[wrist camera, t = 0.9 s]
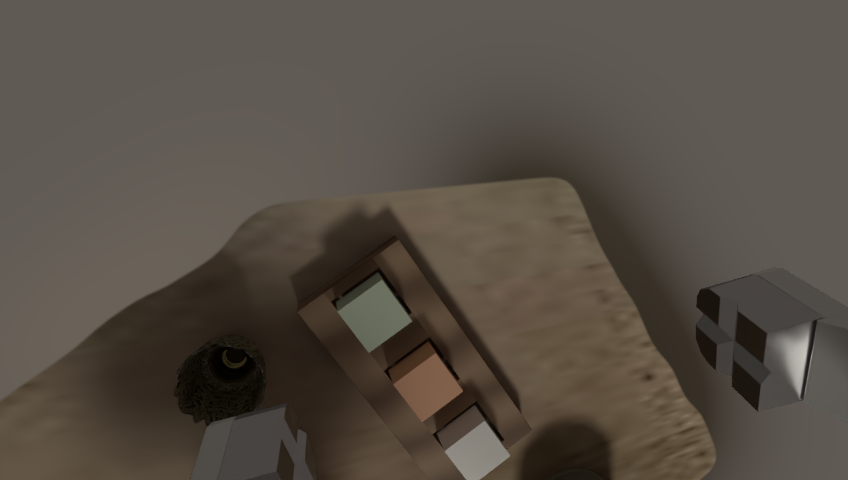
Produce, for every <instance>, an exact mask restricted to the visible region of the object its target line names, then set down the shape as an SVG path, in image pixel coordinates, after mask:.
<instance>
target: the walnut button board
mask: <svg viewBox="0 0 848 480" xmlns="http://www.w3.org/2000/svg"><path fill="white" fill-rule="evenodd" d="M377 272H378V273H379V274H380V276H381V277H382V278H383V280H384V281H385V282H386V284H387V285H388V287H389V288H390V289H391V291H392V292H393V293H394V295H395V296H396V298H397V299H398V300H399V302H400V303H401V304H402V306H403V307H404V309H405V310H406V311H407V313H408V315H409V316H410V318H411V320H412V322H411V323H409V324H408V325H406V326H405V327H404V328H402V329H401V330H400V331H398V332H397V333H396V334H394V335H393V336H391V337H390V338H389V339H387V340H386V341H385V342H383V343H382V344H381V345H379V346H378V347H376V348H375V349H374V350H372V351H371V352H370V353H369V352H368V351H367V350H366V349H365V347H364V346H363V345H362V343H361V342H360V341H359V339H358V338H357V337H356V336H355V334H354V333H353V332H352V330H351V329H350V328H349V326H348V325H347V324H346V322H345V321H344V320H343V319H342V317H341V316H340V315H339V313H338V312H337V304H336V302H337V301H338V300H340V299H341V298H343V297H344V296H345V295H347V294H348V293H349V292H351V291H352V290H354V289H355V288H356V287H358V286H359V285H361V284H362V283H363V282H365V281H366V280H368V279H369V278H370V277H372V276H373V275H375V274H376V273H377ZM297 313H298V314H299V315H300V316H301V318H302V319H303V320H304V321H305V323H306V324H307V325H308V326H309V328H310V329H311V330H312V332H313V333H314V334H315V335H316V337H317V338H318V339H319V340H320V342H321V343H322V344H323V345H324V347H325V348H326V349H327V350H328V352H329V353H330V354H331V356H332V357H333V358H334V359H335V361H336V362H337V363H338V364H339V366H340V367H341V368H342V369H343V371H344V372H345V373H346V374H347V376H348V377H349V378H350V380H351V381H352V382H353V383H354V385H355V386H356V387H357V388H358V390H359V391H360V392H361V393H362V395H363V396H364V397H365V398H366V400H367V401H368V402H369V404H370V405H371V406H372V407H373V409H374V410H375V411H376V412H377V414H378V415H379V416H380V417H381V419H382V420H383V421H384V422H385V424H386V425H387V426H388V428H389V429H390V430H391V431H392V433H393V434H394V435H395V436H396V438H397V439H398V440H399V441H400V443H401V444H402V445H403V446H404V448H405V449H406V450H407V452H408V453H409V454H410V455H411V457H412V458H413V459H414V460H415V462H416V463H417V464H418V465H419V467H420V468H421V469H422V470H423V472H424V473H425V474H426V476H427V477H428V478H429V479H430V480H466V479H465V477H464V476H463V475H462V474H461V472H460V471H459V470H458V468H457V467H456V466H455V464H454V463H453V462H452V460H451V459H450V458H449V457H448V455H447V454H446V453H445V451H444V449H443V447H442V444H441V442H440V440H439V437H438V435H437V433H438V432H439V431H440V430H442V429H443V428H444V427H446V426H447V425H448V424H450V423H451V422H452V421H454V420H455V419H456V418H458V417H459V416H460V415H462V414H463V413H464V412H466V411H467V410H468V409H470V408H471V407H472V406H474V405H475V406H476V407H477V409H478V410H479V412H480V413H481V414H482V416H483V417H484V418H485V420H486V421H487V423H488V424H489V425H490V427H491V428H492V429H493V431H494V432H495V434H496V435H497V436H498V438H499V439H500V441H501V442H502V444H503V445H504V447H505V448H506V450H507V449H508V448H509V447H511V446H512V445H513V444H514V443H516V442H517V441H518V440H520V439H521V438H522V437H524V436H525V435H526V434H527V433H529V432H530V431H531V430H532V429H531V427H530V426H529V424H528V423H527V422H526V420H525V419H524V417H523V416H522V414H521V413H520V412H519V410H518V409H517V407H516V406H515V405H514V403H513V402H512V400H511V399H510V397H509V396H508V395H507V393H506V392H505V390H504V389H503V387H502V386H501V385H500V383H499V382H498V380H497V379H496V377H495V376H494V375H493V373H492V372H491V370H490V369H489V368H488V366H487V365H486V363H485V362H484V360H483V359H482V358H481V356H480V355H479V353H478V352H477V350H476V349H475V348H474V346H473V345H472V343H471V342H470V341H469V339H468V338H467V336H466V335H465V333H464V332H463V331H462V329H461V328H460V326H459V325H458V323H457V322H456V321H455V319H454V318H453V316H452V315H451V313H450V312H449V311H448V309H447V308H446V306H445V305H444V304H443V302H442V301H441V299H440V298H439V296H438V295H437V294H436V292H435V291H434V289H433V288H432V286H431V285H430V284H429V282H428V281H427V279H426V278H425V277H424V275H423V274H422V272H421V271H420V269H419V268H418V267H417V265H416V264H415V262H414V261H413V259H412V258H411V257H410V255H409V254H408V252H407V251H406V249H405V248H404V247H403V245H402V244H401V242H400V241H399V240H398V239H397V238H396V237H395V236H393V237H392V238H391V239H389V240H388V241H386V242H385V243H384V244H382V245H381V246H379V247H378V248H377V249H375V250H374V251H372V252H371V253H370V254H368V255H367V256H365V257H364V258H363V259H361V260H360V261H358V262H357V263H356V264H354V265H353V266H351V267H350V268H349V269H347V270H346V271H344V272H343V273H342V274H340V275H339V276H337V277H336V278H334V279H333V280H332V281H330V282H329V283H327V284H326V285H325V286H323V287H322V288H320V289H319V290H318V291H316V292H315V293H313V294H312V295H311V296H309V297H308V298H306V299H305V300H304V301H302V302H301V303H299V305H298V310H297ZM427 341H428V342H429V343H430V344H431V346H432V347H433V348H434V350H435V351H436V353H437V354H438V355H439V357H440V358H441V359H442V361H443V362H444V364H445V365H446V366H447V368H448V369H449V370H450V372H451V373H452V375H453V376H454V377H455V379H456V380H457V382H458V384H459V385H460V387H461V388H462V390H463V392H462V393H460V394H459V395H458V396H456V397H455V398H454V399H452V400H451V401H450V402H449V403H447V404H446V405H445V406H443V407H442V408H441V409H439V410H438V411H437V412H435V413H434V414H433V415H431V416H430V417H429V418H427V419H426V420H425V421H423V422H422V421H421V420H420V419H419V418H418V416H417V415H416V414H415V412H414V411H413V410H412V408H411V407H410V406H409V405H408V403H407V402H406V401H405V399H404V398H403V397H402V395H401V394H400V393H399V391H398V390H397V389H396V388H395V386H394V385H393V383H392V379H391V376H390V373H389V369H391V368H392V367H394V366H395V365H396V364H398V363H399V362H400V361H402V360H403V359H404V358H406V357H407V356H408V355H410V354H411V353H413V352H414V351H415V350H417V349H418V348H419V347H421V346H422V345H423V344H425V343H426V342H427Z"/></svg>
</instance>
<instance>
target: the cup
mask: <svg viewBox="0 0 848 480" xmlns="http://www.w3.org/2000/svg"><path fill="white" fill-rule="evenodd" d="M231 348H234V349H238V350H241V351H242V352H243V353H244V358H243V359H242V360H241V361H240V362H237V363H234V362H231V361H230V360H229V359H228V357H227V353H228V351H229V350H230V349H231ZM177 374H178V375H179V376H178V379H177V380H178V384H177V387H176V388H175V389H174V395H175V397H178V405H179V408H180V410H181V412H182V413H185V414H190V415H193V421H194V422H195V423H198V422H200V421H201V420H203V419H205V423H206V425H207V426H209V425H210V424H211V423H212V422H215V421H219V420H223V419H227V418H231V417H235V416H238V415H241V414H245V413H249V412H253V411H256V410H257V408H258V407H259V405H260V403H262V401H263V399H264V390H265V386H266V370H265V362H264V358H263V356H262V353H261V352H260V350H259V348H258V347H257V346H256V345H255V344H254V343H253V342H251V341H250V340H248V339H246V338H244V337H241V336H236V335H226V336H221V337H218V338H215V339H213V340H211V341H209V342H207V343H206V344H204V345H203V346H202V347H200V348H199V349H198V350H197V351H196V352H194V353H193V354H192V355H190V356H189V357H188V358H187V359H186V360H185V362H184V363H183V364H182V365H181V367H180V368H179V369H178V371H177Z"/></svg>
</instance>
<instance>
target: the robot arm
mask: <svg viewBox="0 0 848 480" xmlns="http://www.w3.org/2000/svg"><path fill="white" fill-rule="evenodd" d="M696 307H697V308H698V309H699V310H700V311H701V312H702V313H703V315H702V317H701V318H700V319H699V321H698V322H697V324H696V340H697V343H698V346H699V349H700V352H701V354H702V355H703V357H704V358H705V360H706V361H707V362H708V363H709V364H710V365H711V366H712V367H713V368H714V369H715V370H716V371H718V372H721V373H724V374H726V375H729V376H731V377H732V387H733V388H734V389H735V390H736V391H737V392H738V393H739V394H740V395H741V396H742V397H743V398H744V399H745V400H746V401H747V402H748V403H749V404H750V405H751V406H752V407H753V408H755V410H757V411H758V412H759V411H763V410H767V409H771V408H775V407H779V406H783V405H786V404H791V403H794V402H798V401H802V400H803V403H805V404H807V405H809V406H811V407H814V408H816V409H818V410H820V411H822V412H825V413H827V414H829V415H831V416H833V417H836V418H838V419H840V420H842V421H844V422H846V423H848V307H846V306H845V305H843V304H841V303H840V302H838V301H836V300H835V299H833V298H831V297H829V296H828V295H826V294H825V293H823V292H821V291H820V290H818V289H816V288H814V287H813V286H811V285H810V284H808V283H806V282H804V281H803V280H801V279H799V278H798V277H796V276H794V275H793V274H791V273H789V272H788V271H786V270H784V269H781V268H776V267H774V268H770V269H767V270H763V271H760V272H757V273H753V274H750V275H749V276H745V277H742V278H738V279H734V280H731V281H728V282H724V283H720V284H717V285H713V286H710V287H706V288H703V289H700V291H699V293H698V295H697V305H696ZM298 423H299V416H298V414H297V412H296V410H295V408H294V406H293V404H291V403H285V404H281V405H277V406H273V407H269V408H265V409H261V410H257V411H253V412H249V413H245V414H241V415H238V416H235V417H231V418H227V419H223V420H219V421H215V422H212V423H211V424H210V425H209V426H208V427H207V428H206V430H205V433H204V437H203V440H202V443H201V446H200V449H199V452H198V455H197V459H196V462H195V465H194V468H193V471H192V474H191V477H190V480H316V467H315V459H314V453H313V449H312V446H311V442H310V440H309V438H308V435H307V433H305V432H303V431H301V430H299V429H298Z"/></svg>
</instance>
